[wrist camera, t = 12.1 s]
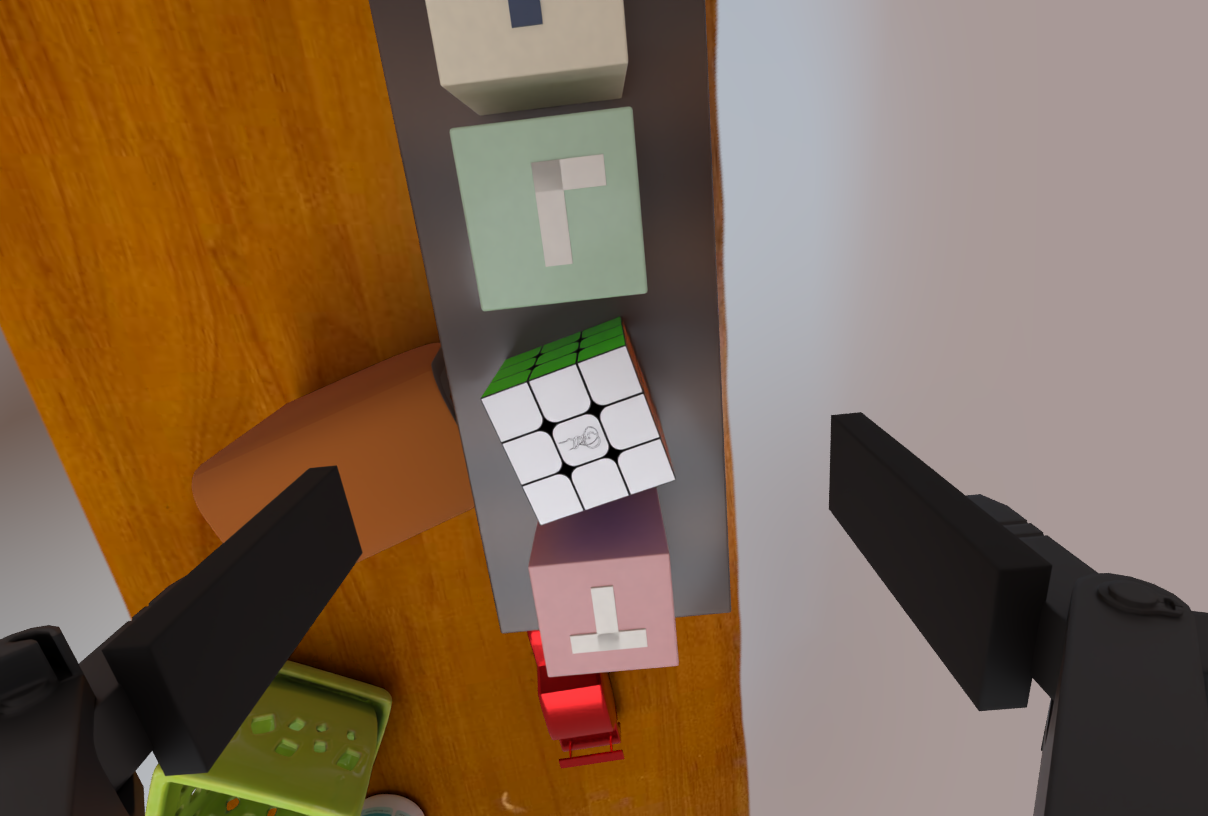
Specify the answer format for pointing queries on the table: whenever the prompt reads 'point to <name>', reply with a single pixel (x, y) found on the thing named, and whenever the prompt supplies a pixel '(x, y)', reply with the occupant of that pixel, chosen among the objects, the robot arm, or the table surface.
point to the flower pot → (289, 753)
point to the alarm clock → (353, 453)
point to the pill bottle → (390, 806)
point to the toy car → (577, 710)
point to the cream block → (529, 52)
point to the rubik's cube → (578, 422)
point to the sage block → (552, 208)
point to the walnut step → (652, 320)
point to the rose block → (605, 589)
